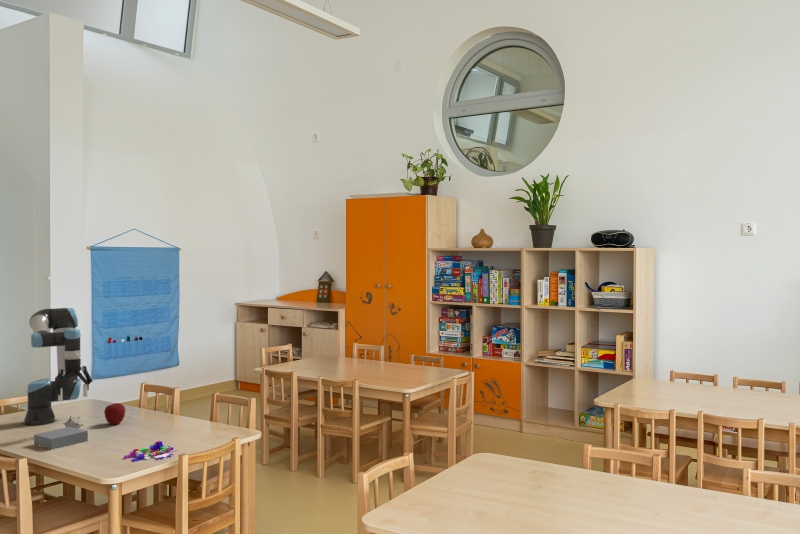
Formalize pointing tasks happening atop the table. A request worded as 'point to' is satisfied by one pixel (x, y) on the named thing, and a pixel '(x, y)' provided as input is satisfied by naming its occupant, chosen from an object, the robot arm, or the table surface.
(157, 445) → the building block set
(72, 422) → the game die
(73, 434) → the plinth
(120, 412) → the apple
